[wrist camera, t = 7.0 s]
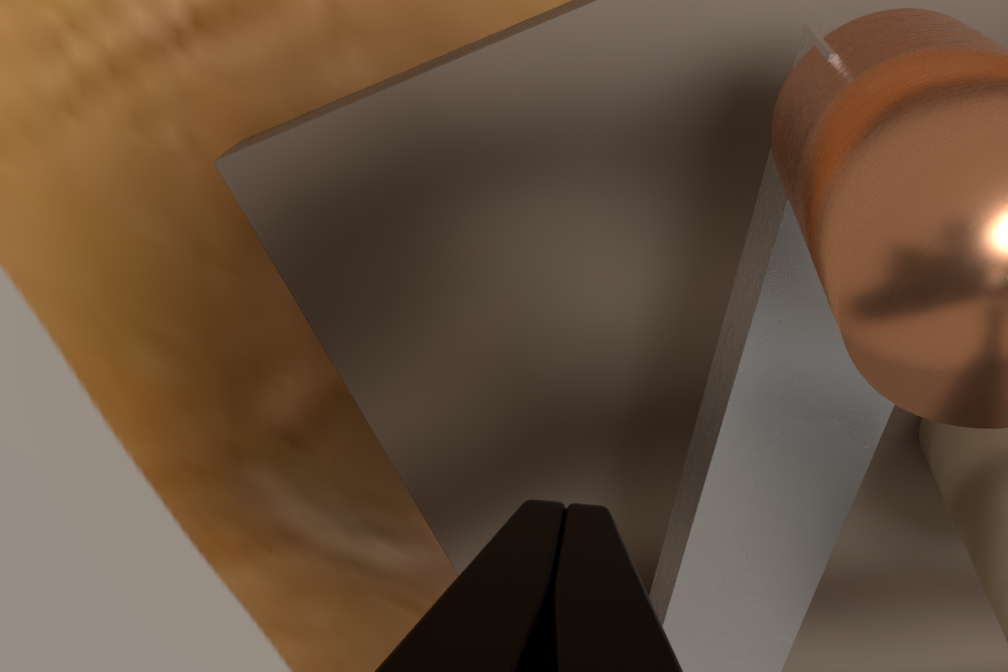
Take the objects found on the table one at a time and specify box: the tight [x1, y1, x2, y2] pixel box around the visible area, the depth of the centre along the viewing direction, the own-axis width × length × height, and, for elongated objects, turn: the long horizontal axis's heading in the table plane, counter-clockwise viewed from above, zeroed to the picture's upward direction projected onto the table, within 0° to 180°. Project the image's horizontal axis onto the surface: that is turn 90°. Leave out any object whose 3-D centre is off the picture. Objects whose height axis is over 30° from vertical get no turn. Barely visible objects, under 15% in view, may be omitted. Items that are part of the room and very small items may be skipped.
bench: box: [213, 0, 1008, 672], centre depth 20 cm, size 22×18×6 cm
